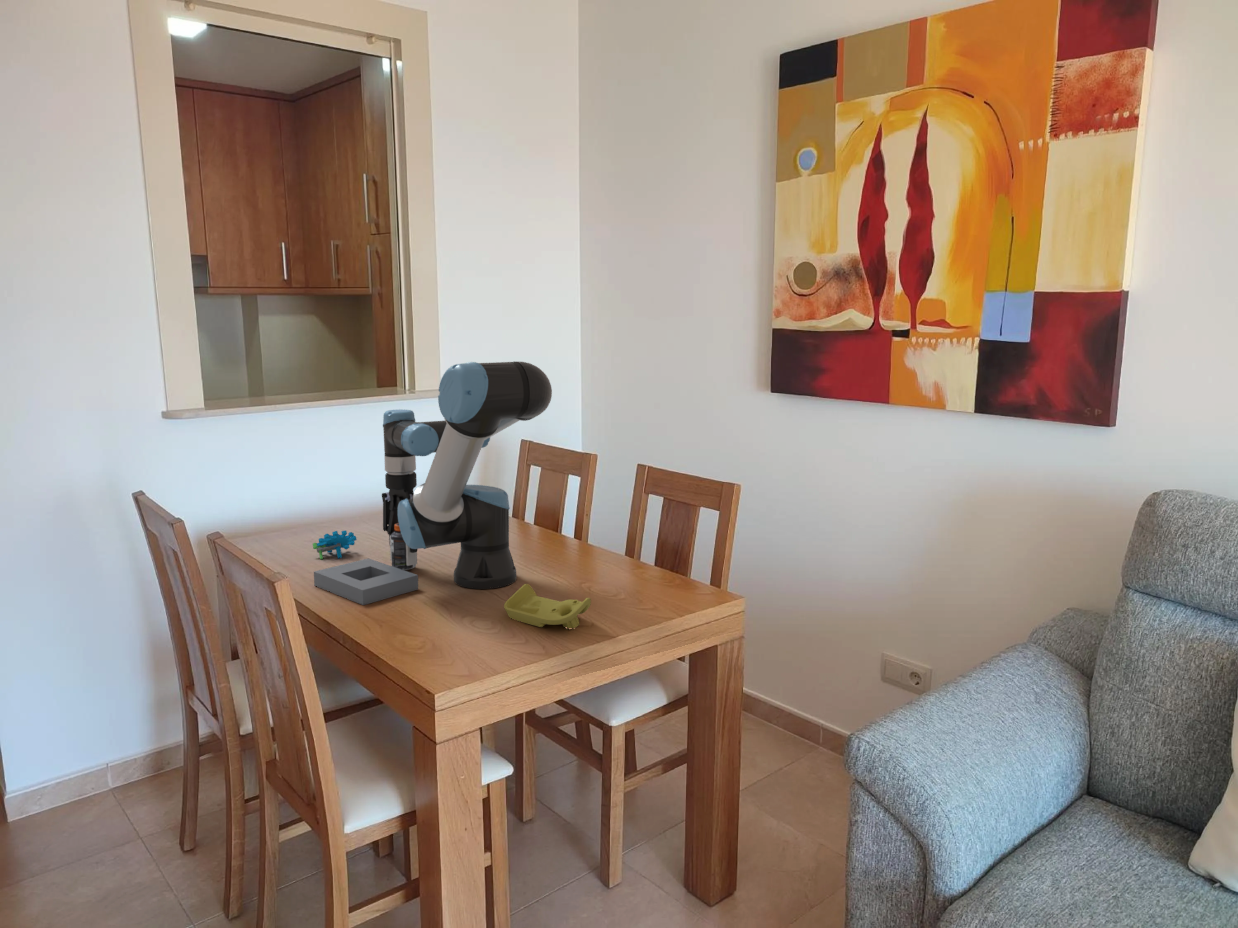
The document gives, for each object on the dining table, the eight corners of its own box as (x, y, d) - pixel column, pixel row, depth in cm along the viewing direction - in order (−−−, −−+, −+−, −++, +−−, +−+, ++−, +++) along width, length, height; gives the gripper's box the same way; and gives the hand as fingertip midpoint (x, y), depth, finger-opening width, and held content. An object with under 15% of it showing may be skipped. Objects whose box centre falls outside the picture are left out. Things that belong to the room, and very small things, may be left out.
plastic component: (499, 607, 187) (529, 578, 193) (512, 633, 190) (541, 604, 196) (563, 624, 174) (593, 592, 180) (576, 651, 177) (605, 619, 183)
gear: (357, 543, 236) (353, 525, 228) (360, 562, 233) (357, 544, 225) (314, 552, 233) (310, 533, 225) (318, 571, 230) (313, 553, 222)
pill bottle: (420, 565, 221) (419, 522, 219) (405, 571, 216) (404, 527, 214) (402, 562, 224) (401, 519, 222) (386, 568, 219) (385, 524, 217)
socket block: (418, 589, 205) (417, 574, 204) (363, 605, 193) (362, 590, 193) (368, 571, 217) (368, 558, 217) (314, 585, 206) (313, 571, 205)
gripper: (436, 474, 213) (439, 565, 217) (390, 465, 225) (393, 552, 229) (411, 479, 207) (414, 572, 211) (365, 469, 219) (369, 557, 223)
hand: (403, 561), depth 220 cm, fingers closed on pill bottle, 6 cm apart
